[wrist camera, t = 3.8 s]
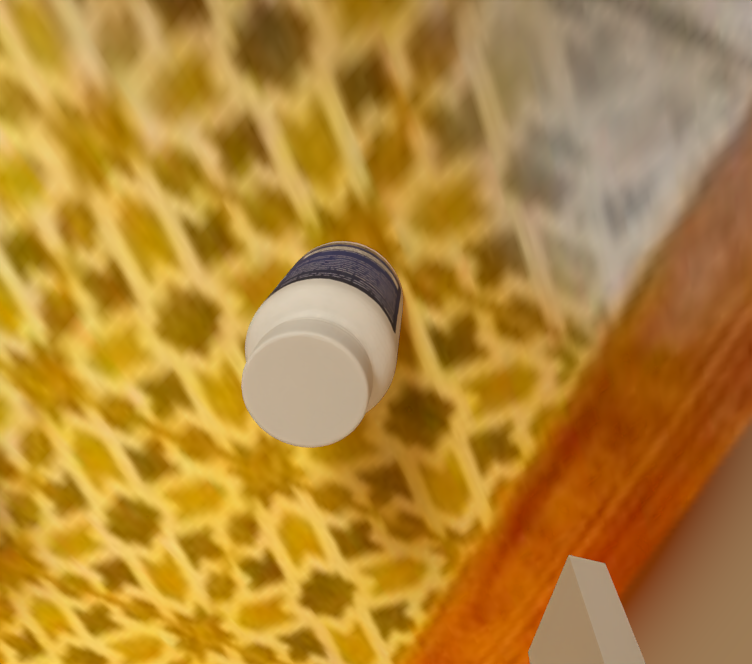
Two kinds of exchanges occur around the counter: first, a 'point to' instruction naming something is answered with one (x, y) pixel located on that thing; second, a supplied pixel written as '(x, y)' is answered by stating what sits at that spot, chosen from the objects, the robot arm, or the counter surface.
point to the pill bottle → (323, 345)
